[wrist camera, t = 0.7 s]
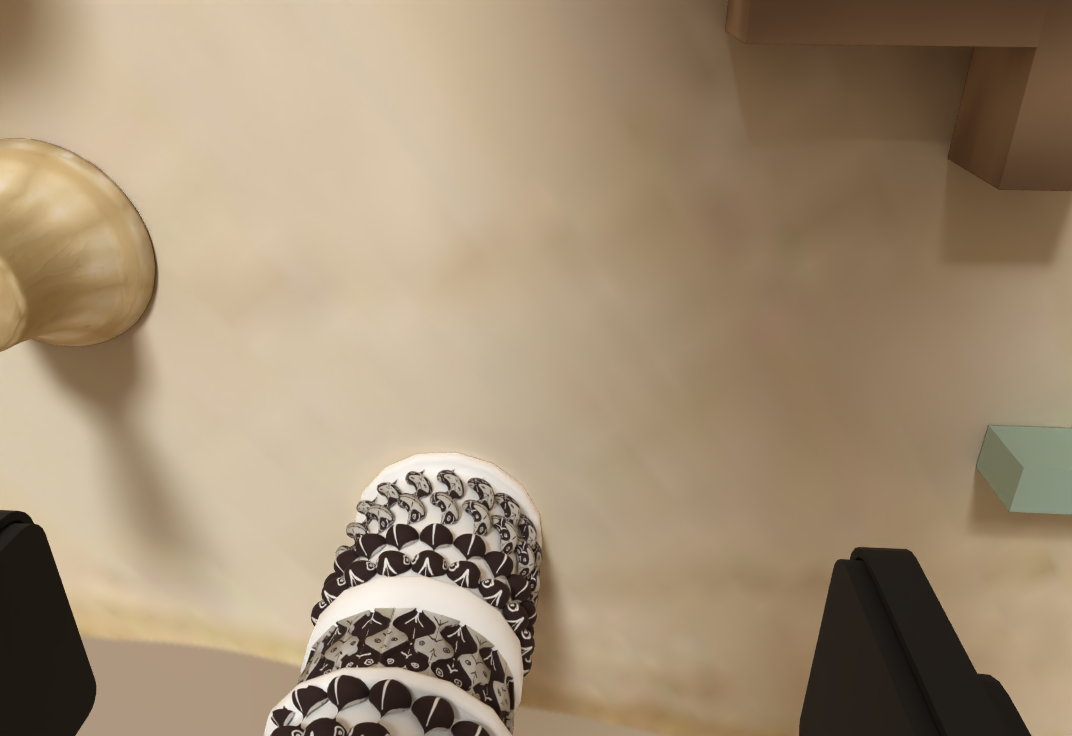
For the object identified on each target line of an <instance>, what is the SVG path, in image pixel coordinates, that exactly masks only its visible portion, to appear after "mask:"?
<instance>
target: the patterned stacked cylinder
mask: <svg viewBox="0 0 1072 736" xmlns="http://www.w3.org/2000/svg"><path fill="white" fill-rule="evenodd" d="M346 533H347V535H348V536H349V537H351V538H354V540H355V544H354V545H353V546H351V547H348V546H340V547H339V548H338V549H337V551H336V559H335V562H334V570H335V572H334V573H332V574H330V575H329V576H328V577H327V578H326V580H325V582H324V587H323V589H322V594H321V595H322V599H323V600H322V601H320V602H318V603H317V604H316V605H315V606H314V608H313V610H312V613H311V620H312V623H313V625H314V626H315V628H314V630H313V633H312V635H311V637H310V640H309V642H308V646H307V650H306V654H305V657H304V661H303V665H302V669H301V675H300V678H299V682H298V684H297V686H296V687H295V688H294V689H293V690H292V691H291V692H290V693H289V694H288V695H286V696H285V697H284V698H283V699H282V701H280V702H279V703H278V704H277V705H276V706H275V707H274V708H273V709H272V710H271V713H270V715H269V717H268V720H267V724H266V728H265V733H264V736H513V726H514V715H515V713H516V711H517V709H518V707H519V704H520V702H521V695H522V684H523V677H524V676H526V675H527V674H528V672H529V671H530V669H531V665H532V660H531V656H530V655H531V654H532V653H533V651H534V647H535V643H534V638H533V635H534V628H533V626H532V625H533V624H534V623H535V621H536V617H537V612H536V606H537V602H538V592H539V589H540V582H541V581H540V566H541V563H542V550H541V548H542V535H541V525H540V514H539V512H538V510H537V508H536V507H535V505H534V503H533V502H532V500H531V499H530V497H529V495H528V494H527V492H526V490H525V489H524V487H523V486H522V485H521V484H520V483H519V482H517V481H516V480H515V479H513V478H512V477H511V476H509V475H508V474H506V473H505V472H504V471H502V470H501V469H500V468H498V467H497V466H496V465H494V464H493V463H490V462H486V461H483V460H480V459H477V458H473V457H470V456H467V455H463V454H460V453H457V452H448V453H418V454H416V455H413V456H411V457H408V458H406V459H403V460H401V461H399V462H396V463H394V464H391V465H389V466H386V467H385V468H384V469H383V470H382V471H381V472H380V473H379V474H378V475H377V476H376V478H375V479H374V480H373V481H372V482H371V483H370V484H369V485H368V486H367V487H366V488H365V489H364V491H363V493H362V497H361V500H360V502H359V503H358V505H357V515H356V518H355V522H352V523H350V524H349V525H348V526H347V529H346Z"/></svg>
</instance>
